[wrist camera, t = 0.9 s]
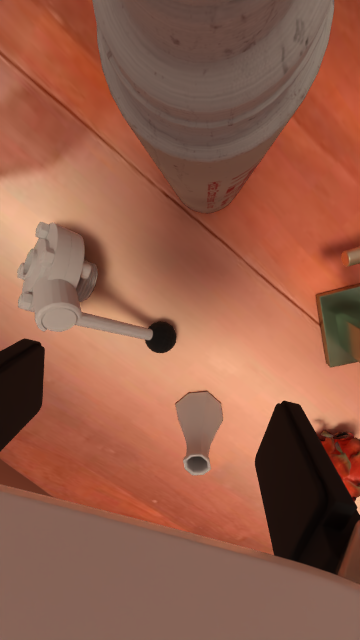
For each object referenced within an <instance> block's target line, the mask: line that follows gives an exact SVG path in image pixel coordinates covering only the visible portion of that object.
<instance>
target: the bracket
mask: <svg viewBox="0 0 360 640" xmlns="http://www.w3.org/2000/svg"><path fill="white" fill-rule="evenodd" d="M316 300H317V306H318V312H319V319H320V325H321V332H322V338H323V344H324V351H325V357H326V363H327V364H328V366H329V367H335V366H340V365H345V364H350V363H355V362H360V284H356V285H353V286H349V287H345V288H341V289H337V290H333V291H329V292H325V293H321V294H317V295H316Z"/></svg>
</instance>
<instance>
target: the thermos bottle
mask: <svg viewBox="0 0 360 640" xmlns="http://www.w3.org/2000/svg"><path fill="white" fill-rule="evenodd" d="M93 6H94V11H95V17H96V22H97V41H98V47H99V53H100V58H101V63H102V69H103V72H104V75H105V78H106V81H107V84H108V87H109V89H110V92H111V95H112V97H113V99H114V100H115V102H116V104H117V106H118V108H119V110H120V111H121V113H122V115H123V117H124V118H125V120H126V121H127V123H128V124H129V126H130V127H131V129H132V130H133V131H134V133H135V134H136V136H137V137H138V139H139V140H140V142H141V143H142V145H143V146H144V147H145V149H146V150H147V152H148V153H149V155H150V156H151V158H152V159H153V161H154V162H155V163H156V165H157V166H158V168H159V169H160V171H161V172H162V174H163V175H164V177H165V178H166V179H167V181H168V182H169V184H170V185H171V187H172V188H173V190H174V191H175V192H176V194H177V196H178V197H179V198H180V200H181V201H182V202H183V203H184V204H185V205H186V206H187V207H189V208H190V209H192V210H194V211H197V212H201V213H211V212H216V211H218V210H221V209H222V208H224V207H226V206H227V205H228V204H229V203H230V202H231V201H232V200H233V199H234V197H235V196H236V195H237V193H238V192H239V191H240V189H241V188H242V186H243V185H244V183H245V182H246V181H247V179H248V178H249V176H250V175H251V174H252V172H253V171H254V169H255V168H256V167H257V165H258V164H259V162H260V161H261V159H262V158H263V157H264V155H265V154H266V152H267V151H268V150H269V148H270V147H271V145H272V144H273V143H274V141H275V140H276V138H277V137H278V135H279V134H280V133H281V131H282V130H283V128H284V127H285V126H286V124H287V123H288V121H289V120H290V118H291V117H292V116H293V114H294V113H295V111H296V110H297V109H298V107H299V106H300V104H301V103H302V101H303V100H304V98H305V96H306V94H307V93H308V91H309V89H310V87H311V85H312V83H313V81H314V79H315V77H316V75H317V73H318V71H319V68H320V65H321V62H322V59H323V56H324V53H325V51H326V48H327V45H328V40H329V35H330V30H331V24H332V19H333V13H334V0H93Z"/></svg>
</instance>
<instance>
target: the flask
mask: <svg viewBox="0 0 360 640" xmlns="http://www.w3.org/2000/svg"><path fill="white" fill-rule="evenodd" d="M175 405H176V410H177V415H178V420H179V423H180V426H181V428H182V431H183V434H184V437H185V440H186V445H187V453H186V456H185V457H184V459H183V462H184V467H185V469H186V470H187V471H188V472H189V473H190V474H192V475H204V474H205V473H206V472H208V471H209V470H211V466H210V460H209V457H208V454H209V449H210V445H211V443H212V441H213V438H214V436H215V434H216V432H217V430H218V429H219V427H220V425H221V423H222V421H223V416H222V409H221V404H220V403H219V402H218V401H217V400H216V399H215V398H214V397H213V396H212V395H211V394H209V393H208V392H198V393H188V394H187V395H186V396H185V397H183V398H182V399H181V400H180V401H179V402H177V403H176V404H175Z"/></svg>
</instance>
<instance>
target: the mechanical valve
mask: <svg viewBox="0 0 360 640" xmlns="http://www.w3.org/2000/svg"><path fill="white" fill-rule="evenodd" d="M36 237H38V238H39V239H38V241H37V243H36V245H35V247H34V249H31V250H30V252H29V253H28V255H27V258H26V261H25V263H22V264H21V265H20V266H19V268H18V272H17V273H18V274H17V275H18V278H20V279H24V283H23V289H22V294H21V296H20V297H19V300H18V307H19V308H21V309H24V310H27V311H31V312H35V321H36V324H37V326H38V328H39V329H41V330H42V331H46V330H47V329H48V330H51V331H55V332H61V331H65V330H68V329H70V328H72V327H73V326H74V325H78V326H83V327H87V328H92V329H97V330H102V331H107V332H111V333H116V334H121V335H126V336H130V337H135V338H140V339H145V341H146V344H147V346H148V347H149V348H150V349H151V350H152V351H154V352H156V353H165V352H168V351H169V350H170V349H172V348H173V346H174V345H175V343H176V332H175V330H174V328H173V327H172V326H171V325H170V324H168V323H166V322H156V323H153V324H152V325H151V326H149V328H144V327H140V326H136V325H132V324H128V323H124V322H120V321H115V320H111V319H107V318H103V317H99V316H95V315H91V314H87V313H83V312H81V308H80V304H79V302H82V301H84V300H86V299H87V298H89V297H90V295H91V293H92V292H93V290H94V287H95V285H96V281H97V276H98V270H97V266H96V264H94V263H91V262H89V261H86V260H84V251H85V249H84V241H83V238H82V236H81V235H79V234H77V233H75V232H73V231H71V230H69V229H66V228H64V227H62V226H60V225H58V224H55V223H50V224H49V225H48V224H46V223H44V222H40V223H39V225H38V226H37V228H36Z"/></svg>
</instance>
